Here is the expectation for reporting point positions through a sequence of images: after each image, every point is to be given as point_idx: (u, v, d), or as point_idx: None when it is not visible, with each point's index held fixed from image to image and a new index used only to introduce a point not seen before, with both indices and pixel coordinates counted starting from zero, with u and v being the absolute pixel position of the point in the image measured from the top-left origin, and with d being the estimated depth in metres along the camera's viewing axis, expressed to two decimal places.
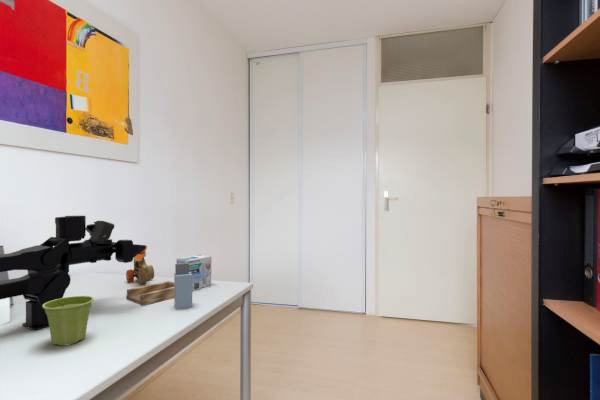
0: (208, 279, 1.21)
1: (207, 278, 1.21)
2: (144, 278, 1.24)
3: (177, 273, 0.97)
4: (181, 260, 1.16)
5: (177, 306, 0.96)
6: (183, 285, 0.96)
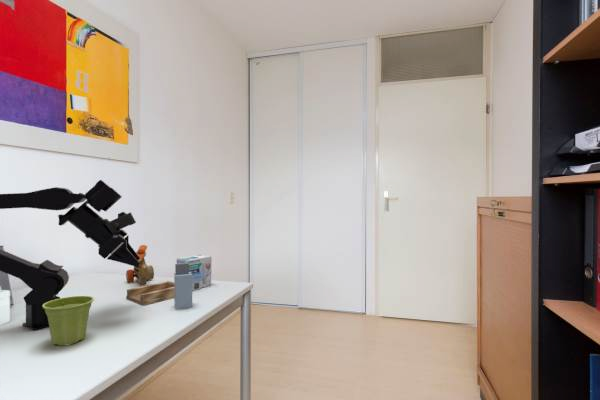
0: (208, 279, 1.21)
1: (207, 278, 1.21)
2: (144, 278, 1.24)
3: (177, 273, 0.97)
4: (181, 260, 1.16)
5: (177, 306, 0.96)
6: (183, 285, 0.96)
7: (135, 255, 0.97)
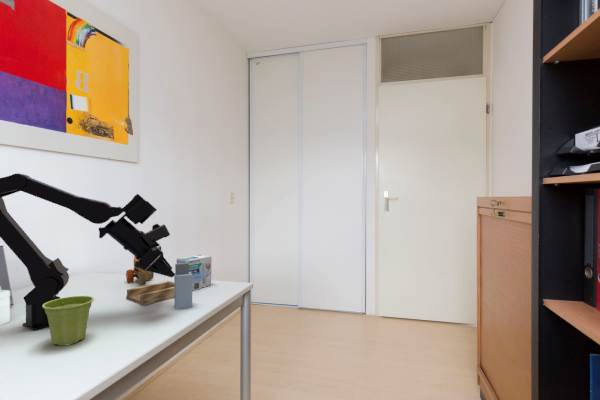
0: (208, 279, 1.21)
1: (207, 278, 1.21)
2: (144, 278, 1.24)
3: (177, 273, 0.97)
4: (181, 260, 1.16)
5: (177, 306, 0.96)
6: (183, 285, 0.96)
7: (168, 265, 1.01)
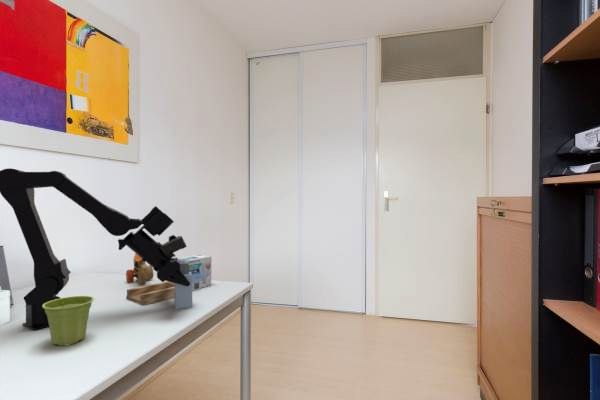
0: (208, 279, 1.21)
1: (207, 278, 1.21)
2: (144, 278, 1.24)
3: None
4: (181, 260, 1.16)
5: (177, 306, 0.96)
6: (183, 285, 0.96)
7: None
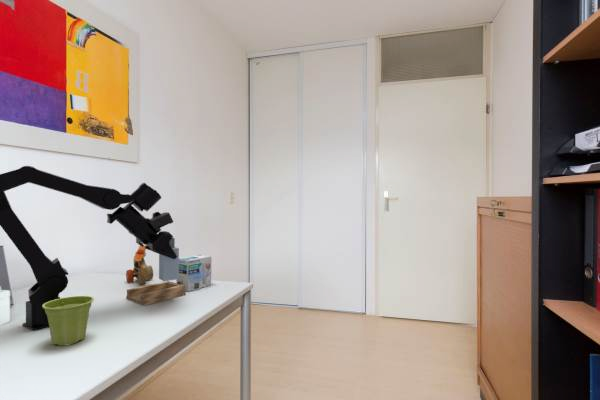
0: (208, 279, 1.21)
1: (207, 278, 1.21)
2: (144, 278, 1.24)
3: None
4: (181, 260, 1.16)
5: (165, 278, 1.01)
6: (170, 258, 1.02)
7: None
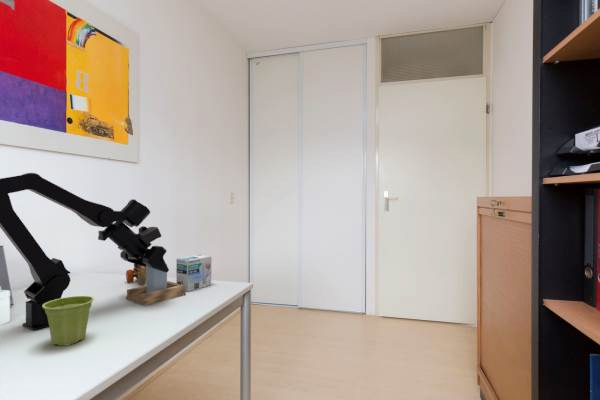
0: (208, 279, 1.21)
1: (207, 278, 1.21)
2: (143, 278, 1.24)
3: None
4: (181, 260, 1.16)
5: None
6: (159, 274, 1.06)
7: None
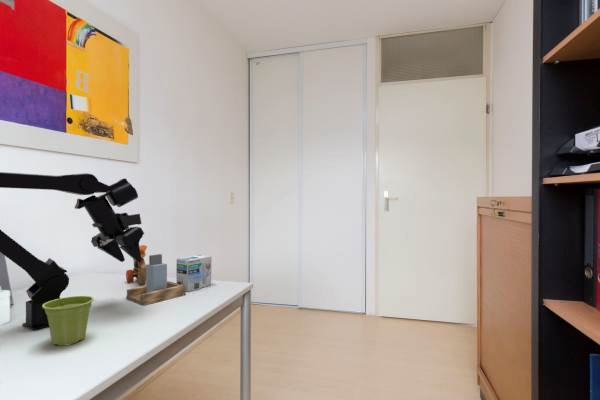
0: (208, 279, 1.21)
1: (207, 278, 1.21)
2: (143, 278, 1.24)
3: (152, 263, 1.06)
4: (181, 260, 1.16)
5: None
6: (159, 274, 1.06)
7: (122, 256, 1.01)
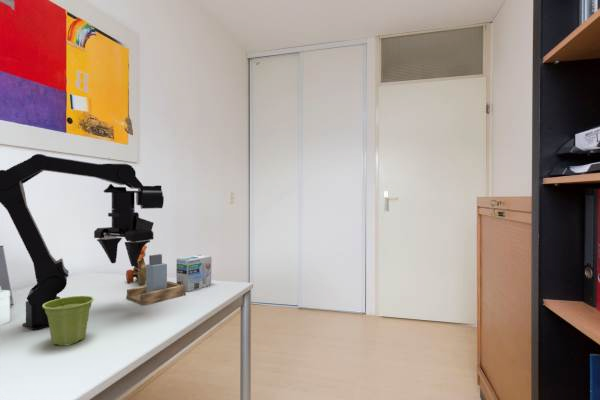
0: (208, 279, 1.21)
1: (207, 278, 1.21)
2: (143, 278, 1.24)
3: (152, 263, 1.06)
4: (181, 260, 1.16)
5: None
6: (159, 274, 1.06)
7: (115, 257, 0.97)
